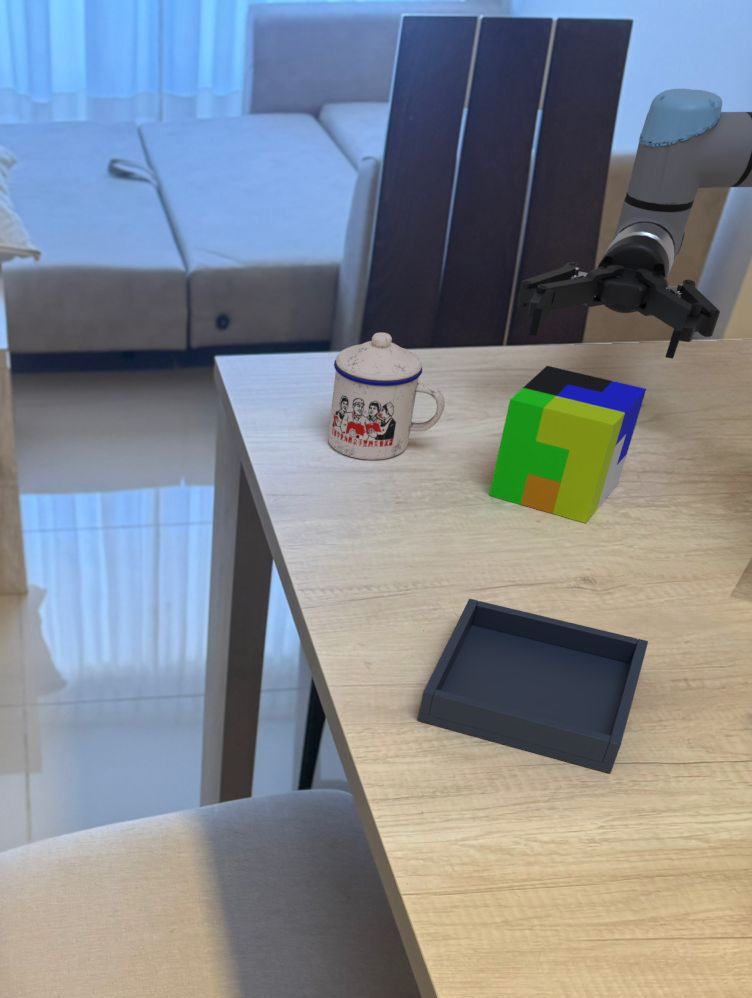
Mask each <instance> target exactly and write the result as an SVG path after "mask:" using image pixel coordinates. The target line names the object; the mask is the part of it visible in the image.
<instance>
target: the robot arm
mask: <svg viewBox="0 0 752 998" xmlns="http://www.w3.org/2000/svg"><path fill="white" fill-rule="evenodd" d="M722 108H723V100H722V98H721V96H719V95H718V94H717V93H714V92H711V91H708V90H703V89H691V88H671V89H665V90H664V91H661V92H660V93H658V94H656V96H655V97H654V98H653V99H652V101H651V103H650V106H649V109H648V111H647V114H646V117H645V120H644V123H643V127H642V130H641V132H640V134H639V139H638V145H637V149H636V154H635V158H634V162H633V167H632V171H631V175H630V179H629V182H628V183H629V184H628V188H627V191H626V195H625V197H624V199H623V203H622V206H621V211H620V213H619V214H620V215H619V218H618V222H617V225H616V230H615V233H614V236H613V239H611V242H610V244H609V246H608V247H607V249H606V251H605V252H604V253H603V255H602V258H601V260H600V262H599V263H598V265H597V267H596V268H593V269H592V270H590V271H589V272H584V271H580V267H578V266H579V264H578V263H577V262H574V261H569V262H567V263H566V264H565V265H563V267H560V268H556V269H554V270H550V271H547V272H544V273H542V274H539V275H536V276H532V277H530V278H529V277H528V278H527V279H524V280H521V285H520V289H519V294H518V299H517V303H516V304H517V306H518V307H520V308H527V307H528V309H527V313H526V315H527V316H528V317H530V318H532V320H531V325H530V328H529V334H528V335H529V336H535V337H537V336H538V334H539V332H540V331H541V329H542V327H543V326H544V323H546V321H547V319H548V317H549V315H550V311H551V310H552V311H553V310H557V309H562V308H568V307H574V306H580V305H584V306H586V307H588V308H592V307H598V306H604V307H606V308H607V309H608V310H611V311H612V312H614V313H615V312H616V313H620V314H631V313H636V312H637V313H640V314H641V315H642V316H644V317H651V316H653V317H654V318H656V319H658V320H659V321H661V322H662V323H664V324H666V325H667V326H669V327H671V329H673V331H672V334H671V337H670V340H669V344H668V347H667V350H666V354H665V356H664V358H665V359H666V358H667V359H672V360H673V359H674V357H675V354H676V352H677V348H678V347H679V346H678V345H679V343H680V342H684V343H690V342H692V341H693V338H694V334H695V333H698V334H699V335H700V336H703V337H705V338H710V337H713V335H714V332H715V329H716V326H717V323H718V321H719V318H720V313H721V310H719V308H718V307H716V306H715V305H714V304H713V302H711V301H710V300H709V299H708V298H707V297H706V296H705V295H704V294H703V293H702V292H700V290H699V289H698V288H696V281H694V280H692V279H684V280H683V281H682V283H681V282H679V283H678V284H677V285H669V283H668V281H667V280H668V277H669V275H670V272H671V269H672V267H673V265H674V261H675V259H676V256H678V255H679V253H680V251H681V248H682V246H683V243H684V240H685V235H686V227H687V224H688V222H689V221H688V220H689V217H690V215H691V211H692V207H693V205H694V202H695V198H696V196H697V194H698V190H699V189H704V188H705V189H706V188H709V189H710V188H752V111H722Z"/></svg>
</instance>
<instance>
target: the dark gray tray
mask: <svg viewBox="0 0 752 998" xmlns="http://www.w3.org/2000/svg"><path fill="white" fill-rule="evenodd" d="M648 644H649V641H648V640H646V639H641V638H637V637H633V636H629V635H625V634H620V633H616V632H611V631H608V630H604V629H599V628H595V627H591V626H590V627H589V626H588V625H587V626H586V625H583V624H578V623H575V622H571V621H570V622H569V621H565V620H560V619H558V618H557V619H556V618H553V617H549V616H545V615H540V614H536V613H532V612H527V611H524V610H519V609H515V608H512V607H507V606H503V605H498V604H494V603H489V602H487V601H482V600H478V599H474V598H468V600H467V602H466V604H465V606H464V608H463V610H462V612H461V614H460V617H459V618H458V620H457V622H456V624H455V626H454V628H453V631H452V633H451V635H450V636H449V638H448V641H447V643H446V644H445V646H444V649H443V651H442V653H441V655H440V657H439V659H438V661H437V663H436V665H435V667H434V669H433V671H432V673H431V675H430V677H429V679H428V681H427V683H426V685H425V687H424V690H422V696H421V701H420V705H419V709H418V715H417V722H421V723H425V724H428V725H430V726H431V725H432V726H436V727H439V728H442V729H446V730H450V731H453V732H457V733H461V734H464V735H468V736H471V737H475V738H479V739H482V740H487V741H489V742H493V743H497V744H500V745H503V746H508V747H512V748H514V749H519V750H521V751H522V750H523V751H525V752H530V753H534V754H537V755H541V756H544V757H548V758H551V759H555V760H557V761H558V760H559V761H561V762H562V761H563V762H566V763H570V764H573V765H576V766H580V767H584V768H588V769H591V770H595V771H599V772H603V773H606V774H609V775H610V774H611V773H612V770H613V767H614V765H615V762H616V760H617V756H618V754H619V751H620V748H621V746H622V741H623V738H624V735H625V731H626V727H627V723H628V718H629V716H630V712H631V708H632V706H633V705H632V704H633V700H634V697H635V693H636V689H637V687H638V682H639V678H640V675H641V670H642V667H643V663H644V661H645V660H644V659H645V656H646V652H647V647H648Z"/></svg>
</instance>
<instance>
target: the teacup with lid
mask: <svg viewBox="0 0 752 998" xmlns="http://www.w3.org/2000/svg"><path fill="white" fill-rule="evenodd" d="M392 340H393V338H392V336H391V334H389V333H387V332H375V333H374V334H373V335H372V337H371V340H369V341H366V342H363V343H361V344H360V343H359V344H355V345H351V346H347V347H346V348H344V349H342V350H341V351H340V352H339V353H338V354H337V356H336V358H335V360H334V363H333V368H334V370H335V373H334V383H333V388H332V389H333V391H332V398H331V399H332V400H331V408H330V415H329V425H328V432H327V433H328V434H327V440H328V443H329V444H330V446H331V447H332V448H333V449H334V450H335V451H337V452H339V454H343V455H345V456H347V457H351V458H355V459H359V460H361V459H362V460H371V461H375V460H385V459H391V458H393V457H396V456H398V455H400V454H403V452H404V451H405V450H406V449H407V447H408V444H409V439H410V433H411V432H414V433H415V432H416V433H417V432H418V433H419V432H420V433H421V432H426V431H427V430H430V429H431V428H433V427H434V426H436V424H437V423H438V422H439V420H440V419H441V417H442V416H443V413H444V411H445V405H446V403H445V397H444V394H443V393H442V392H441V390H440V389H439V388H438V387H436V386H434V385H432V384H430V383H422V382H419V380H420V379H419V378H420V376H421V375H422V373H423V366H422V365H423V364H422V360H421V359H420V358H419V356H418V355H416V354H415V353H414V352H412V351H411V350H409V349H406V348H404V347H401V346H399V345H397V344H396V343H395V342H393V341H392ZM417 393H422V394H426V395H429V396H431V398H433V399H434V400H435V402H436V411H435V414H434V415H433V416H432V417H431V418H430V419H429V420H427V421H424V422H414V421H412V420H413V414H414V409H415V402H416V396H417Z"/></svg>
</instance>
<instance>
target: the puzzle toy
mask: <svg viewBox="0 0 752 998" xmlns="http://www.w3.org/2000/svg"><path fill="white" fill-rule="evenodd" d="M646 392H647V388H645V387H642V386H636V385H632V384H627V383H623V382H619V381H615V380H611V379H605V378H602V377H598V376H593V375H589V374H584V373H580V372H576V371H572V370H568V369H563V368H558V367H555V366H550V365H546V366H545V367H544V368H543V369H542V370H540V371H539V373H537V374H536V375H535V376H534V377H533V378H531V380H530V381H529V382H527V383H526V384H525V385H524V386H523V387H522V388H521V389H519V391H517V393H515V394H514V395H513V396H512V397H511V398H510V399H509V402H508V407H507V411H506V417H505V421H504V425H503V430H502V434H501V439H500V443H499V448H498V453H497V457H496V462H495V466H494V472H493V475H492V476H493V477H492V479H491V485H490V489H489V492H488V493H489V494H488V496H490V497H493V498H496V499H500V500H504V501H507V502H510V503H513V504H518V505H521V506H524V507H529V508H532V509H534V510H538V511H542V512H545V513H549V514H552V515H555V516H560V517H563V518H566V519H570V520H573V521H577V522H580V523H584V524H587V523H588V521H589V520H590V519H591V518H592V517H593V515H594V514H595V513H596V512H597V510H598V509H599V508H600V507H601V505H602V504H603V503H604V501H606V499H607V498H608V497H609V496H610V494H611V493H613V491H614V490H615V488H616V487H617V486H618V485H619V482H620V480H621V479H620V478H621V475H622V472H623V469H624V465H625V462H626V459H627V455H628V452H629V449H630V446H631V441H632V438H633V436H634V432H635V428H636V426H637V421H638V418H639V415H640V411H641V408H642V405H643V402H644V398H645V395H646Z"/></svg>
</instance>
